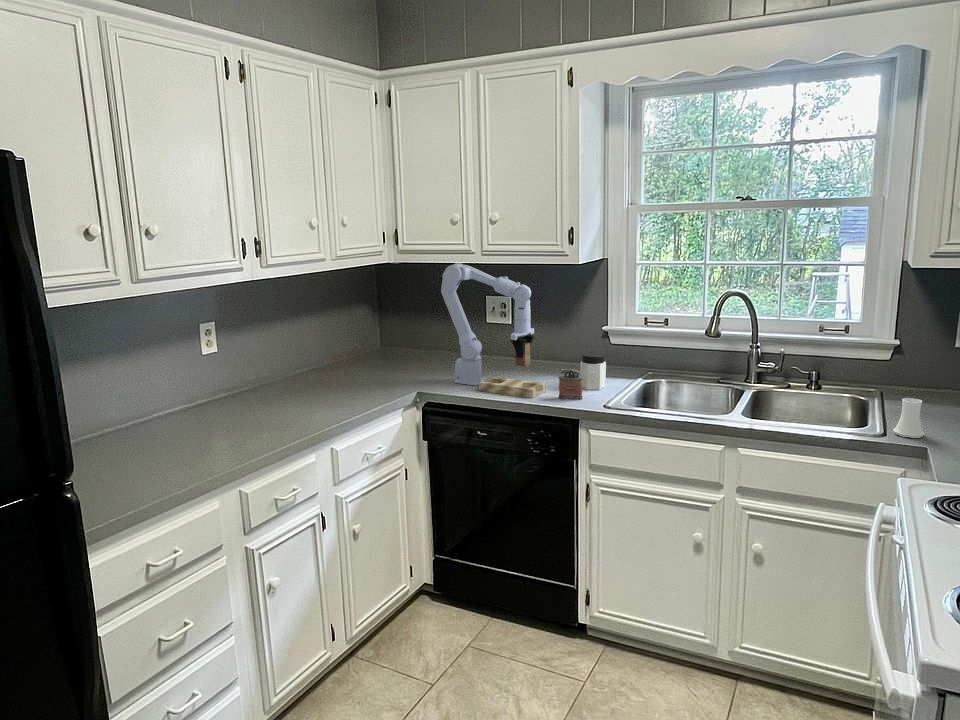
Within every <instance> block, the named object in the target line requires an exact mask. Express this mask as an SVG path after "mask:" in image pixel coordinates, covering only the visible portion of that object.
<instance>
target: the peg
mask: <svg viewBox="0 0 960 720" xmlns="http://www.w3.org/2000/svg"><path fill="white" fill-rule="evenodd" d="M514 352H515V351H514ZM514 354H515V356H514V358H515V363H514V364H515V365H514V366H516V367H517V366H518V367H524V368H526V367H527V366H530V365H531V347H530V343H525V346H524V354H523V358H518V357H517V356H516V352H515V353H514Z"/></svg>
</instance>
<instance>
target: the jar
mask: <svg viewBox="0 0 960 720" xmlns="http://www.w3.org/2000/svg"><path fill="white" fill-rule="evenodd" d="M605 359H606V354H605V353H603V352H599V351H598V352H597V351H596V352H595V351H592V352H590V351H589V352H583V353H582V354H581V361H580V365H579V366H580V370H579V376H581V377H583V380H582V389H584V390H587V391H600V390H602V389H605V388H606V382H607V381H606V380H607V378H606V373H607V362H606V360H605Z"/></svg>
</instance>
